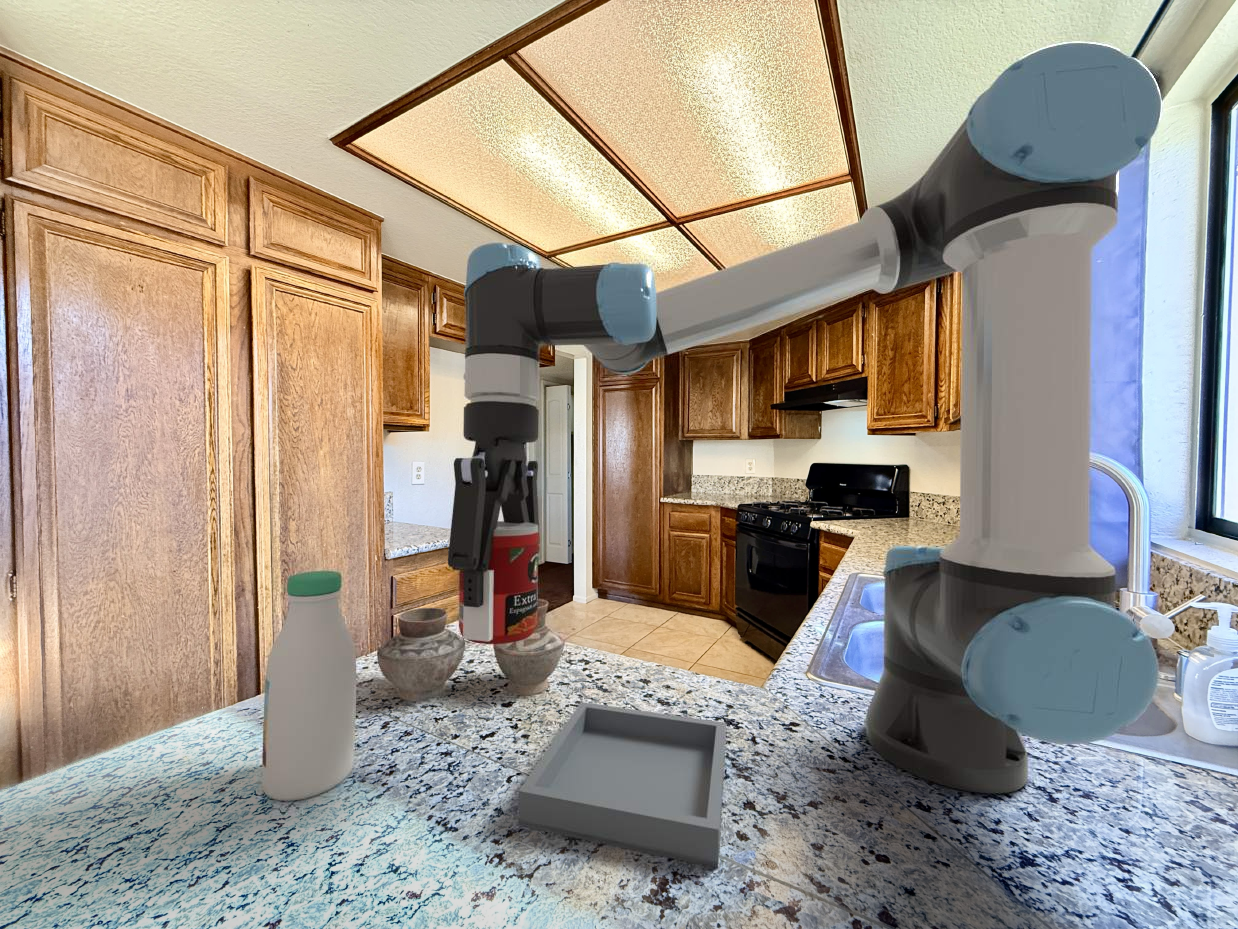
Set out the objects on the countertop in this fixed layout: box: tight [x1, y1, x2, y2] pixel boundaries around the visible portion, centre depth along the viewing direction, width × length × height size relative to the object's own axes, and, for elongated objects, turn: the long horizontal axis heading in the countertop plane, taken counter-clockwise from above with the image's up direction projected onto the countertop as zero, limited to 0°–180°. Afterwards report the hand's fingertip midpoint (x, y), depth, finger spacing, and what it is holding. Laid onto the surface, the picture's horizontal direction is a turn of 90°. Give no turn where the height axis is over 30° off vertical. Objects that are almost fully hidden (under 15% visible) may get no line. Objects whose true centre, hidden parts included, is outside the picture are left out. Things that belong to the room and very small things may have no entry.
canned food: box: [458, 520, 540, 645], centre depth 51 cm, size 8×8×11 cm
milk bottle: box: [261, 570, 357, 802], centre depth 49 cm, size 8×8×20 cm
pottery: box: [376, 598, 566, 702], centre depth 69 cm, size 11×25×12 cm, turn 99°
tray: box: [517, 701, 727, 869], centre depth 49 cm, size 17×17×3 cm
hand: (498, 625), depth 51 cm, fingers closed on canned food, 8 cm apart
